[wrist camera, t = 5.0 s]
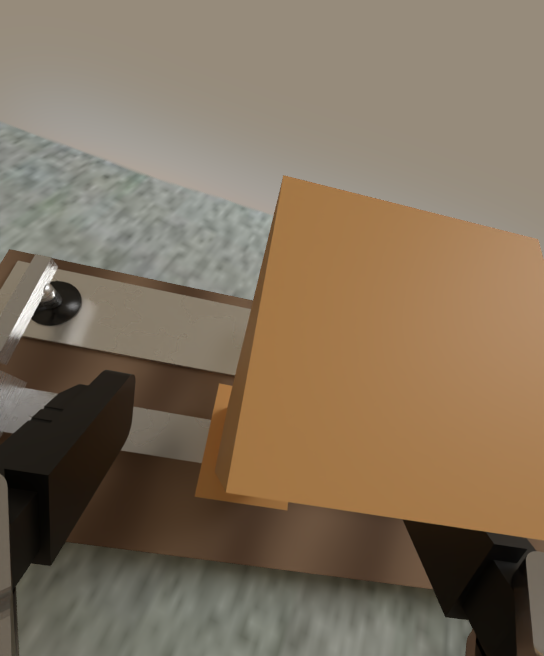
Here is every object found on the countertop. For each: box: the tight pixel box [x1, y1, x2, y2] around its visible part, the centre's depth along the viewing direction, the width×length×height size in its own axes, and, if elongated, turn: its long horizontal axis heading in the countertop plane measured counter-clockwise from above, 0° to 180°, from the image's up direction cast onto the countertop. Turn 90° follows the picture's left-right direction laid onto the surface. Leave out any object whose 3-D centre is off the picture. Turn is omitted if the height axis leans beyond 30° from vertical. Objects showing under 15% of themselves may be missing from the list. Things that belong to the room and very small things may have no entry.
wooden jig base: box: [0, 249, 544, 589], centre depth 19 cm, size 34×14×2 cm, turn 81°
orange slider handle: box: [195, 176, 544, 540], centre depth 10 cm, size 4×10×16 cm, turn 171°
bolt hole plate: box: [0, 261, 251, 377], centre depth 19 cm, size 32×4×1 cm, turn 81°
